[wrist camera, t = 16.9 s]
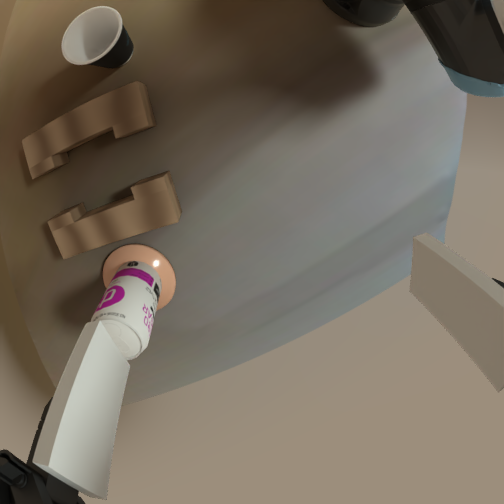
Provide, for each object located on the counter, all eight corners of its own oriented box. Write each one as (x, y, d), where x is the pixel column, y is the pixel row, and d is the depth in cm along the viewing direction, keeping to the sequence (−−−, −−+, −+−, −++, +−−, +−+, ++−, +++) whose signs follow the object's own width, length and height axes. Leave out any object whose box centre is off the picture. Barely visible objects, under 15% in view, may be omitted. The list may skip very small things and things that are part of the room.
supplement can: (107, 271, 43) (75, 328, 30) (144, 250, 42) (119, 306, 29) (134, 307, 47) (114, 369, 33) (171, 289, 46) (160, 352, 33)
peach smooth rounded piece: (160, 234, 42) (159, 236, 42) (186, 300, 48) (186, 303, 48) (92, 255, 42) (91, 257, 42) (123, 315, 48) (122, 318, 47)
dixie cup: (85, 67, 29) (50, 54, 19) (113, 24, 27) (86, 0, 17) (123, 84, 32) (95, 73, 22) (154, 40, 30) (135, 15, 20)
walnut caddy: (146, 85, 33) (137, 80, 28) (182, 211, 41) (178, 222, 37) (38, 137, 32) (21, 140, 28) (75, 246, 41) (63, 259, 37)
